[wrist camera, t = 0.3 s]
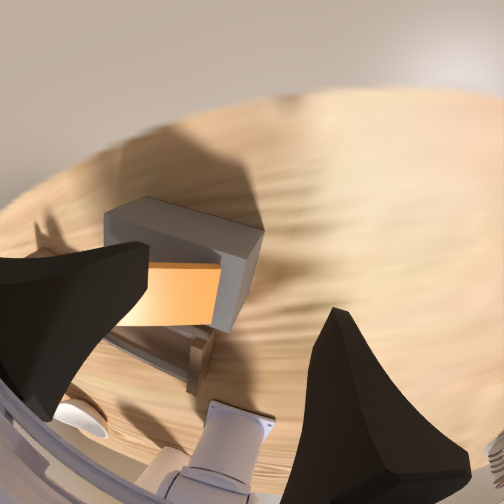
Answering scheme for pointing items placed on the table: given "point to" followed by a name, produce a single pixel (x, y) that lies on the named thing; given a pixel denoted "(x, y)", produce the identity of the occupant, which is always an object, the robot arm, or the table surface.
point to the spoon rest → (82, 417)
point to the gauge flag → (176, 295)
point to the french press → (496, 461)
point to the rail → (164, 345)
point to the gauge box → (192, 246)
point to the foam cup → (162, 468)
